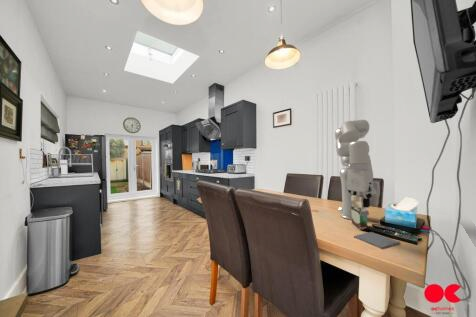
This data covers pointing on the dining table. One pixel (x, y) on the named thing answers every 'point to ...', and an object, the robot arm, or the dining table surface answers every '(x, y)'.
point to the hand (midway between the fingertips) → (360, 205)
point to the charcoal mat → (377, 240)
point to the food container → (359, 217)
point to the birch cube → (357, 201)
